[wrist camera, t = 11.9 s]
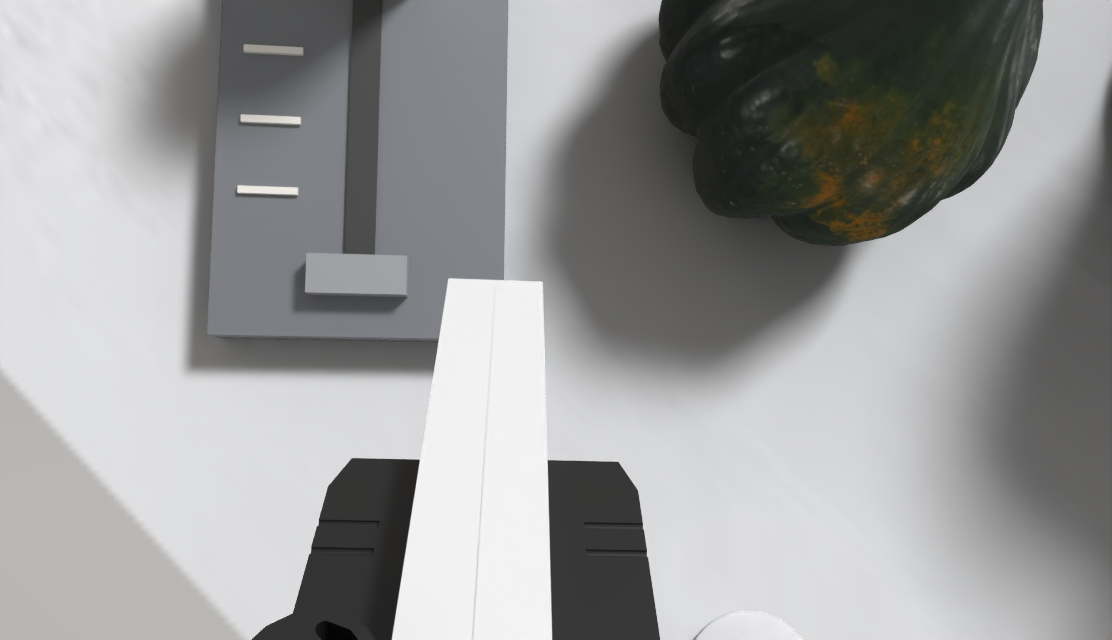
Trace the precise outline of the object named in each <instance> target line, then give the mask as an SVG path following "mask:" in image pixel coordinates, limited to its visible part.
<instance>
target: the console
mask: <svg viewBox="0 0 1112 640" xmlns="http://www.w3.org/2000/svg"><path fill="white" fill-rule="evenodd" d="M507 39H508V0H222V19H221V41H220V62H219V84H218V105H217V127H216V148H215V170H214V192H213V213H212V235H211V256H210V278H209V299H208V321H207V335H212V336H216V337H221V338H276V339H337V340H397V341H439V336H440V329H441V323H442V316H443V310H444V304H445V297H446V291H447V284H448V278H453V279H483V280H504V230H505V166H506V103H507Z"/></svg>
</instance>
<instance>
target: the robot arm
mask: <svg viewBox="0 0 1112 640" xmlns="http://www.w3.org/2000/svg"><path fill="white" fill-rule="evenodd" d="M252 640H660V636H659V629H658V622H657V616H656V609H655V602H654V595H653V589H652V582H651V575H650V569H649V562H648V557H647V548H646V542H645V535H644V530H643V522H642V515H641V508H640V502H639V495H638V490H637V489H636V487H635V486H634V484H633V483H632V481H631V480H630V478H629V477H628V475H627V474H626V473H625V471H624V470H623V468H622V467H621V465H620V464H619V462H599V461H555V460H547V422H546V383H545V345H544V307H543V282H542V281H512V280H483V279H453V278H448V284H447V291H446V297H445V304H444V310H443V316H442V323H441V329H440V336H439V342H438V348H437V355H436V361H435V367H434V374H433V380H432V387H431V393H430V399H429V406H428V412H427V418H426V425H425V431H424V438H423V444H422V450H421V457H420V460H408V459H363V458H352V459H351V460H350V461H349V463H348V464H347V465H346V466H345V467H344V468H343V470H342V471H341V472H340V473H339V474H338V476H337V477H336V478H335V479H334V480H333V481H332V483H331V484H330V485H329V486H328V489H327V493H326V496H325V500H324V503H323V507H322V511H321V514H320V518H319V526H317V529H316V532H315V536H314V539H313V543H312V547H311V554H309V557H308V561H307V565H306V568H305V572H304V575H303V579H302V583H301V586H300V590H299V593H298V597H297V601H296V604H295V608H294V611H293V614H291V615H289V616H287V617H285V618H282V619H280V620H278V621H276V622H274V623H272V624H270V625H268V626H266V627H265V628H264V629H263V630H261V631H260V632H259V633H258V634H257V635H256V636H255V637H254V638H253V639H252Z"/></svg>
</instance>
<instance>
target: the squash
mask: <svg viewBox="0 0 1112 640" xmlns="http://www.w3.org/2000/svg"><path fill="white" fill-rule="evenodd" d="M1042 4H1043V0H662V2H661V7H660V13H659V30H660V40H659V44H660V48H661V51H662V54H663V56H664V58H665V60H666V64H665V66H664V69H663V72H662V76H661V82H660V96H661V105H662V109H663V111H664V113H665V115H666V117H667V118H668V120H669V121H670V122H671V124H672V125H674V126H675V127H677V128H679V129H680V130H682V131H684V132H685V133H687V134H690V135H693V136H695V137H697V138H698V139H697V145H696V150H695V154H694V160H693V173H694V180H695V185H696V190H697V193H698V194H699V196H700V198H701V199H702V201H703V202H704V204H705V206H706V207H707V208H708V209H709V210H710V211H712V212H714V213H716V214H718V215H722V216H726V217H734V218H745V219H746V218H757V217H766V216H772V218H773V220H774V222H775V223H776V224H777V225H778V226H779V227H780V228H781V229H782V230H783V231H784V232H786V233H787V234H789V235H790V236H792V237H794V238H796V239H799V240H802V241H805V242H808V243H813V244H820V245H831V246H842V245H848V244H854V243H859V242H863V241H869V240H873V239H878V238H883V237H886V236H889V235H891V234H894V233H896V232H899V231H901V230H902V229H904V228H906V227H907V226H909V225H910V224H912V223H913V222H914V221H916V220H917V219H919V218H920V217H922V216H923V215H924V214H926V213H927V212H929V211H930V210H932V209H933V208H934V207H935V206H936V205H937V204H938V203H939V202H940V201H941V200H943V199H946V198H949V197H952V196H954V195H956V194H958V193H960V192H962V191H963V190H965V189H966V188H968V187H970V186H971V185H972V184H974V183H975V182H976V181H977V180H978V179H979V178H980V177H981V176H982V175H983V174H984V173H985V172H986V171H987V170H988V169H989V167H990V166H991V165H992V164H993V162H994V161H995V159H996V157H997V156H998V154H999V153H1000V151H1001V149H1002V147H1003V145H1004V143H1005V141H1006V138H1007V136H1008V134H1009V131H1010V129H1011V126H1012V123H1013V119H1014V113H1015V109H1016V108H1017V106H1018V104H1019V101H1020V99H1021V97H1022V95H1023V93H1024V91H1025V89H1026V87H1027V85H1028V82H1029V80H1030V77H1031V75H1032V72H1033V70H1034V67H1035V64H1036V61H1037V56H1038V48H1039V43H1040V38H1041V31H1042V21H1043V5H1042Z"/></svg>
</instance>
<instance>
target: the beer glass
mask: <svg viewBox="0 0 1112 640" xmlns="http://www.w3.org/2000/svg"><path fill="white" fill-rule="evenodd" d="M695 640H804V639H803V638H802V637H801V636H800V635H799V633H798V632H797V631H796V630H795V629H794V628H793V627H791V626H790V625H789V624H788V623H787V622H785V621H784V620H782V619H780V618H779V617H777V616H774V615H772V614H769V613H765V612H760V611H751V610H746V611H737V612H733V613H729V614H727V615H724V616H722V617H720V618H718V619H716V620H715V621H713V622H712V623H710V624H709V625H708V626H707V627H706V628H705V629H703V630H702V632H701V633H700V634H699V635H698V636H697V638H696V639H695Z"/></svg>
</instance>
